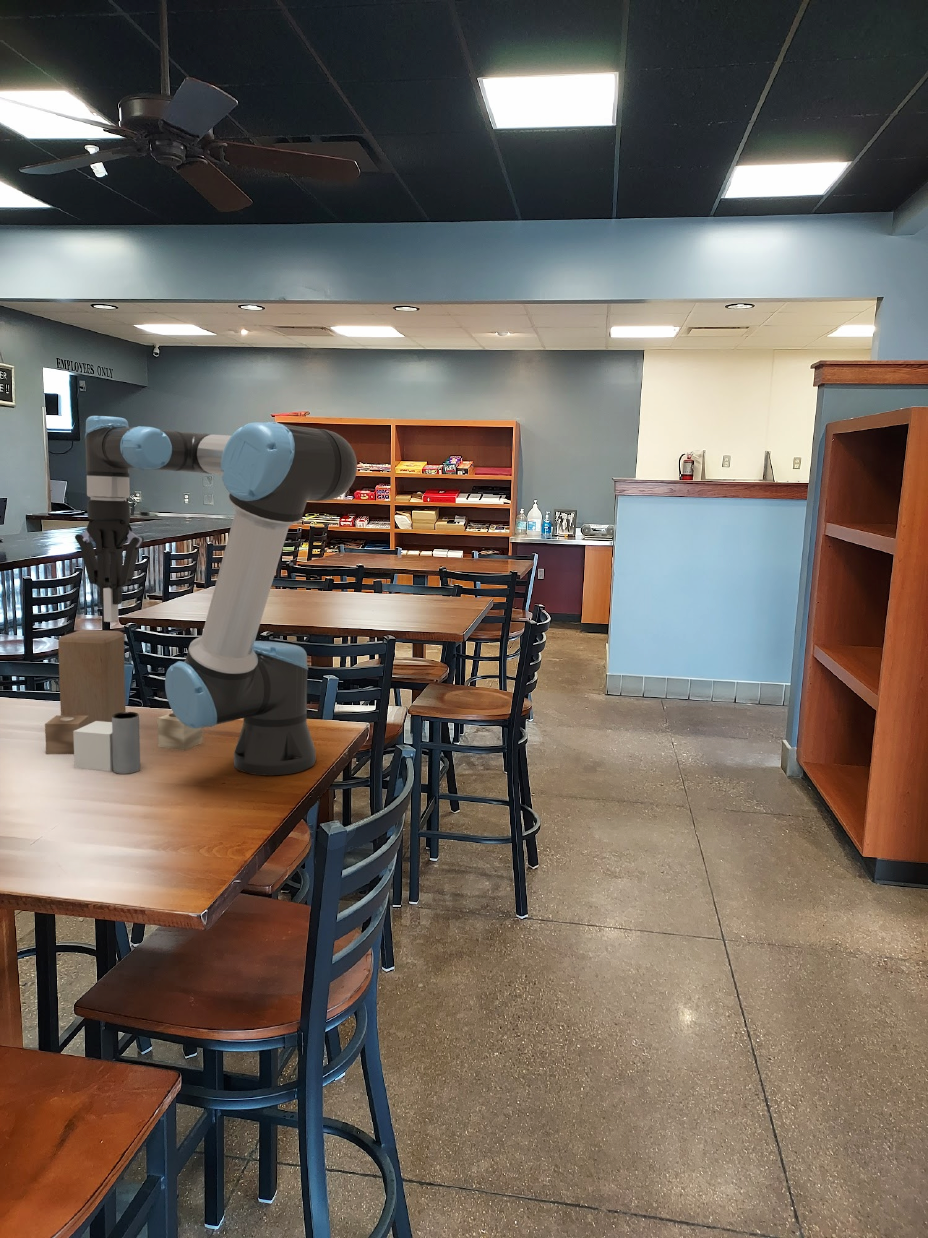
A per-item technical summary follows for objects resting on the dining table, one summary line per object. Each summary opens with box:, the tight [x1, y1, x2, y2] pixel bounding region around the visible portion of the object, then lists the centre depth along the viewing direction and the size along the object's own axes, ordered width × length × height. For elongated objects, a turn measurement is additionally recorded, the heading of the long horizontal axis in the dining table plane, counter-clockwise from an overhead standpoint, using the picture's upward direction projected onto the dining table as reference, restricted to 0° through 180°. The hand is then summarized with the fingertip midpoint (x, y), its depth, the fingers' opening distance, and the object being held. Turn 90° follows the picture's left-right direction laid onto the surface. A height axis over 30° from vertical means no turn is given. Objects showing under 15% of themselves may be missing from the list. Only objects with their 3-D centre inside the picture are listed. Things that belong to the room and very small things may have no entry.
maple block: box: [157, 711, 203, 752], centre depth 163 cm, size 6×6×6 cm
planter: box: [112, 711, 141, 775], centre depth 146 cm, size 4×4×10 cm
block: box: [57, 629, 127, 724], centre depth 172 cm, size 10×10×20 cm
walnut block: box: [44, 714, 89, 755], centre depth 157 cm, size 6×6×6 cm
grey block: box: [73, 721, 113, 772], centre depth 150 cm, size 7×7×7 cm
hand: (111, 620), depth 159 cm, fingers closed
